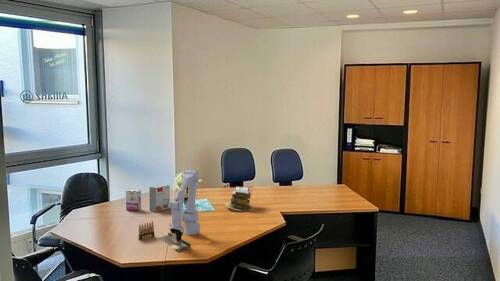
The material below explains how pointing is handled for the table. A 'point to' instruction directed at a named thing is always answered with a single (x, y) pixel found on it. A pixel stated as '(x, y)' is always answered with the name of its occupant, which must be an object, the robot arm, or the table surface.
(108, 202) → the table surface
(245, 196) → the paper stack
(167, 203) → the hard drive box
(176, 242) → the block
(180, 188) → the robot arm
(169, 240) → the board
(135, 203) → the candy bar box
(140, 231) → the ammunition clip
